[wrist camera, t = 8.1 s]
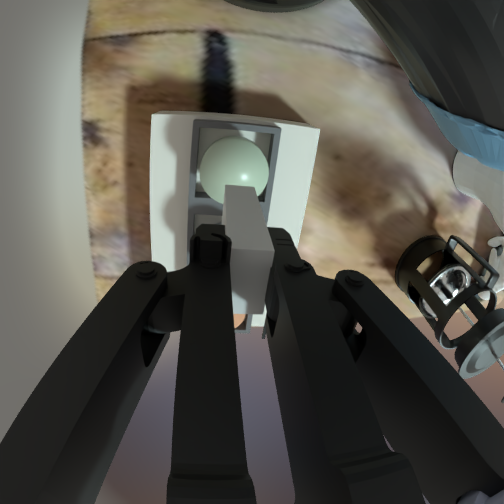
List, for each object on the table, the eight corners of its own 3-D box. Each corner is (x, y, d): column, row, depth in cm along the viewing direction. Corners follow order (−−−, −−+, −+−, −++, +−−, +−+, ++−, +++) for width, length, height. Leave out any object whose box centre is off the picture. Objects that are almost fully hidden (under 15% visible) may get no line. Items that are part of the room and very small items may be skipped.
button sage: (203, 133, 22) (202, 137, 20) (269, 138, 22) (273, 143, 21) (199, 194, 24) (197, 203, 22) (260, 198, 25) (264, 208, 23)
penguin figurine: (543, 260, 29) (504, 318, 36) (513, 229, 36) (480, 284, 43) (529, 255, 28) (486, 319, 35) (496, 222, 35) (461, 282, 42)
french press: (427, 298, 41) (504, 415, 21) (381, 292, 39) (461, 433, 20) (462, 231, 36) (569, 339, 16) (418, 216, 34) (544, 345, 14)
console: (161, 110, 26) (147, 115, 21) (308, 123, 27) (325, 131, 23) (161, 299, 36) (155, 330, 32) (274, 304, 38) (281, 335, 34)
